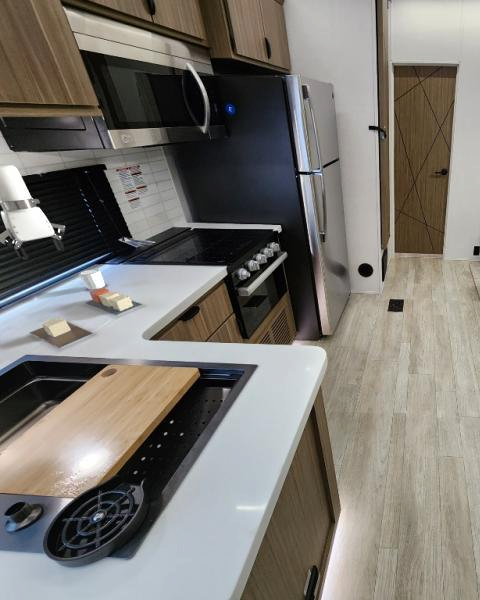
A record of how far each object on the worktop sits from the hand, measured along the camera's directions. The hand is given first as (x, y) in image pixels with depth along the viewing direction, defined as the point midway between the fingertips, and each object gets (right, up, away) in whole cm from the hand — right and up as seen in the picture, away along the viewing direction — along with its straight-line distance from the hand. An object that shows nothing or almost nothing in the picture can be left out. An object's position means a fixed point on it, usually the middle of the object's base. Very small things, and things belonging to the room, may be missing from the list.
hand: (43, 254), depth 117 cm
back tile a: (+21, -19, +8) cm, 30 cm away
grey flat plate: (+15, -18, +11) cm, 26 cm away
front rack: (+13, -28, -7) cm, 31 cm away
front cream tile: (+12, -27, -7) cm, 30 cm away
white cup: (-5, -11, +26) cm, 28 cm away
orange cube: (+9, -16, +14) cm, 23 cm away
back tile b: (+15, -17, +11) cm, 26 cm away
